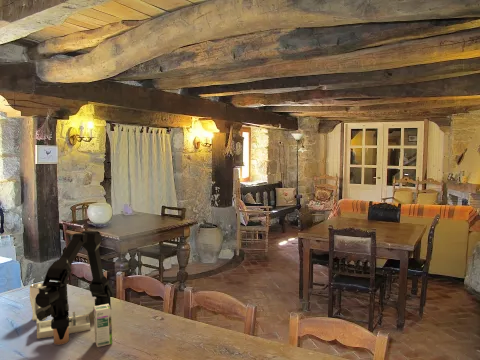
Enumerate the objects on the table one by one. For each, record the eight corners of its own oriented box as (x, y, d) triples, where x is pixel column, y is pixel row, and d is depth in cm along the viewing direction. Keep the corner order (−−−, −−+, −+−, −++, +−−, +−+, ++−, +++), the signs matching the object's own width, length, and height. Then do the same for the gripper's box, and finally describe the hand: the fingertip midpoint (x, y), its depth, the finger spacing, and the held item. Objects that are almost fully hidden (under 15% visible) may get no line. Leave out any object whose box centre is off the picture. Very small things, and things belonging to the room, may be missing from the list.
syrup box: (97, 347, 157) (95, 310, 156) (94, 341, 162) (93, 305, 161) (112, 344, 160) (111, 308, 159) (109, 338, 165) (108, 302, 164)
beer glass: (35, 323, 179) (34, 289, 178) (27, 319, 183) (26, 286, 182) (51, 317, 185) (49, 285, 183) (43, 314, 189) (41, 281, 187)
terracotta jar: (69, 336, 166) (68, 317, 166) (69, 343, 161) (68, 323, 160) (53, 339, 164) (52, 319, 163) (53, 345, 159) (52, 325, 158)
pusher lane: (88, 319, 183) (88, 306, 182) (90, 329, 172) (89, 315, 172) (38, 327, 175) (37, 313, 174) (37, 338, 165) (36, 324, 164)
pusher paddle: (75, 320, 179) (75, 311, 179) (76, 328, 172) (75, 319, 171) (65, 322, 177) (65, 313, 177) (65, 330, 170) (65, 320, 170)
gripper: (37, 292, 166) (39, 330, 168) (35, 309, 149) (37, 351, 151) (67, 288, 171) (69, 325, 172) (68, 304, 154) (70, 345, 155)
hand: (61, 336), depth 162 cm, fingers closed on terracotta jar, 5 cm apart
